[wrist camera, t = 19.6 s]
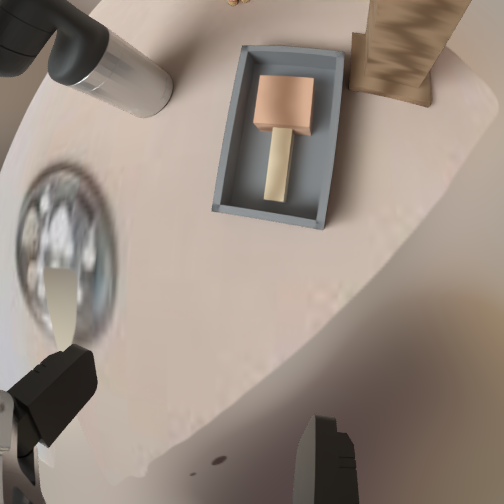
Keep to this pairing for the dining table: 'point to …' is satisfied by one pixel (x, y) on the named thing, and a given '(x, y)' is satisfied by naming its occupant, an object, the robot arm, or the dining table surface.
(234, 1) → the grandmother figurine
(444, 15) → the brown tall square column
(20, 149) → the dining table surface
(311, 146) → the tote
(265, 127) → the mallet
